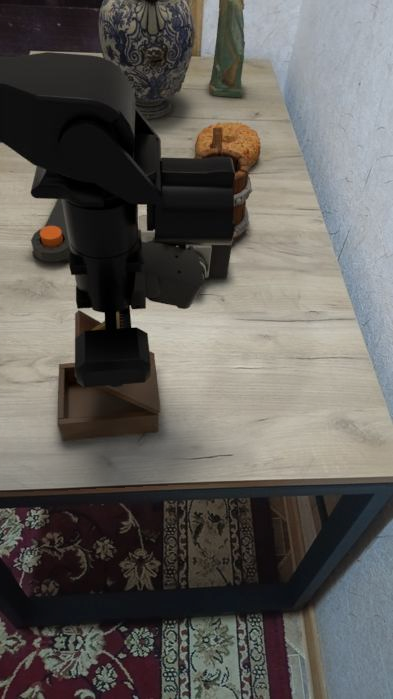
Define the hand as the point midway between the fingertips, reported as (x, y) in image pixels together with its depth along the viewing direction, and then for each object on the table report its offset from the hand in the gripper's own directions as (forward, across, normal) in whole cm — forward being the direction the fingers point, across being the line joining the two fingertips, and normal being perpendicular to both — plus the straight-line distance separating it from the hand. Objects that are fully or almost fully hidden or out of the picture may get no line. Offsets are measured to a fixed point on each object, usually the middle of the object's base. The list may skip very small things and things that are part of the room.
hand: (115, 349), depth 53 cm
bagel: (+12, +55, -24) cm, 61 cm away
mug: (+12, +36, -18) cm, 42 cm away
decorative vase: (+12, +75, -10) cm, 76 cm away
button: (+9, +29, +9) cm, 31 cm away
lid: (+3, 0, 0) cm, 3 cm away
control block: (+12, +36, +7) cm, 38 cm away
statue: (+12, +82, -29) cm, 88 cm away
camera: (+12, +22, -11) cm, 27 cm away
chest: (+12, 0, +1) cm, 12 cm away
